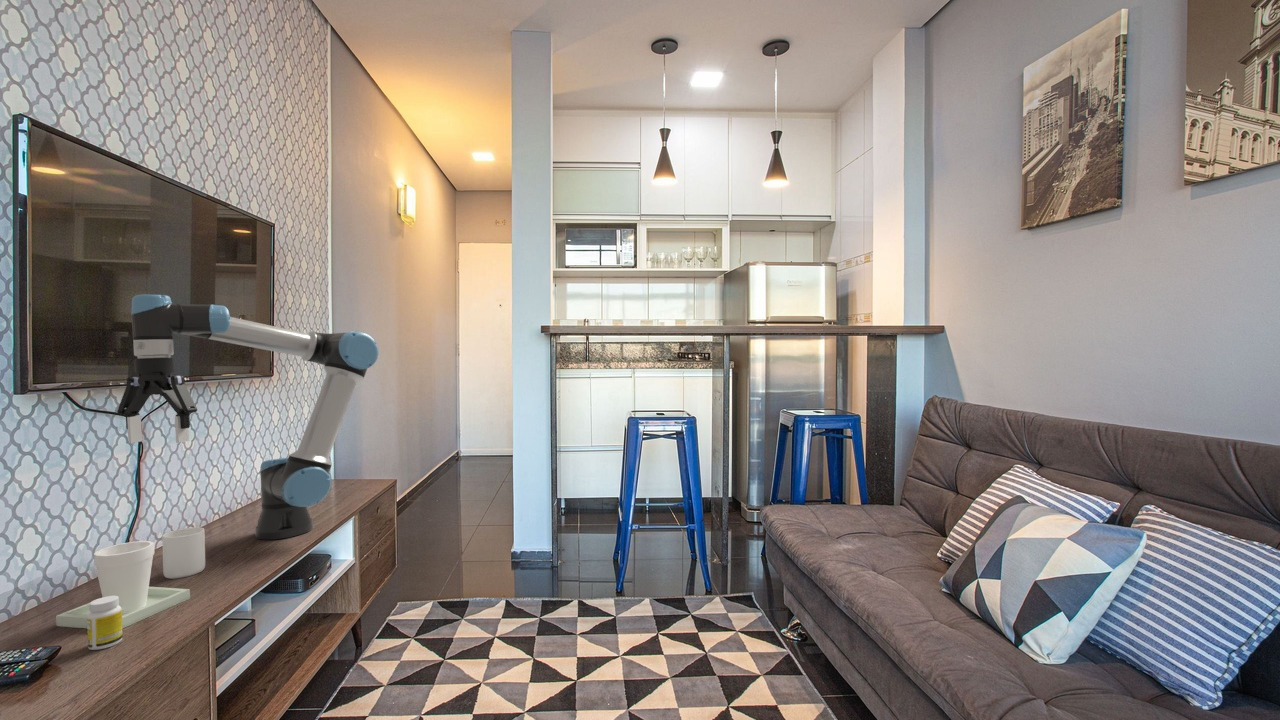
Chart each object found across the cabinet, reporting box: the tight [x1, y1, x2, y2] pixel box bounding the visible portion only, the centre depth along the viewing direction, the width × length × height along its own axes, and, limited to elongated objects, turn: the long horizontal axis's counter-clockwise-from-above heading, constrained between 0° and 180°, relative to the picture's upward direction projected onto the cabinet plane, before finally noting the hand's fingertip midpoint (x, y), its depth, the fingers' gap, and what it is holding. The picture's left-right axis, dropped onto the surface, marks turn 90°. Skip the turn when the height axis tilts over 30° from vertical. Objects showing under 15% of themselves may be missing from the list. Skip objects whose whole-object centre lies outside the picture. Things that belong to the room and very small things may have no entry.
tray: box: [55, 586, 191, 630], centre depth 120 cm, size 15×15×2 cm
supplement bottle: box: [87, 596, 124, 651], centre depth 106 cm, size 5×5×8 cm
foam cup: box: [93, 540, 155, 614], centre depth 120 cm, size 10×9×13 cm
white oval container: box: [161, 526, 206, 580], centre depth 143 cm, size 12×8×10 cm
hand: (158, 442), depth 140 cm, fingers open, 13 cm apart
